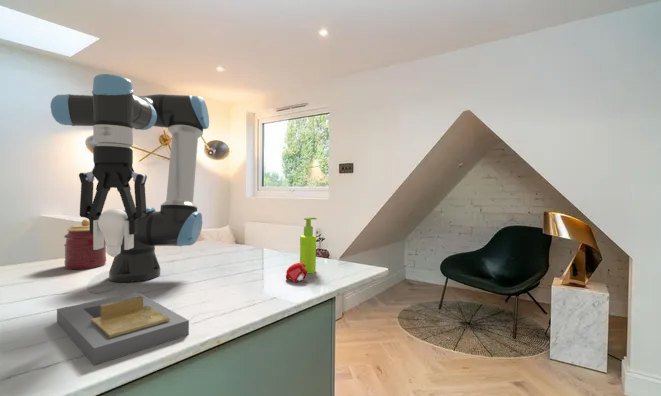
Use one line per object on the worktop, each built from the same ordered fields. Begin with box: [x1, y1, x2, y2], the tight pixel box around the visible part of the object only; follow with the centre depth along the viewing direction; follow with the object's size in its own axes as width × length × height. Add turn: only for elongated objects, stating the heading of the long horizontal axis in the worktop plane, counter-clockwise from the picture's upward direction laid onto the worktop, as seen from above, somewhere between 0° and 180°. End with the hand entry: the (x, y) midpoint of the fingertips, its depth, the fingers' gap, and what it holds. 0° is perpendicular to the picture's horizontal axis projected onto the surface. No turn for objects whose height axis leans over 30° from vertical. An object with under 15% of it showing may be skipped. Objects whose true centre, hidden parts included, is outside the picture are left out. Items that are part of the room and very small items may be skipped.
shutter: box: [92, 296, 170, 338], centre depth 71 cm, size 11×11×3 cm
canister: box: [63, 218, 107, 270], centre depth 129 cm, size 13×13×18 cm
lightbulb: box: [98, 208, 128, 258], centre depth 78 cm, size 6×6×11 cm
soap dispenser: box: [299, 216, 317, 274], centre depth 128 cm, size 6×7×20 cm
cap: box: [285, 262, 308, 283], centre depth 115 cm, size 8×6×6 cm
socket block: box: [56, 291, 190, 366], centre depth 75 cm, size 28×17×3 cm, turn 49°
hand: (114, 248), depth 78 cm, fingers closed on lightbulb, 6 cm apart
